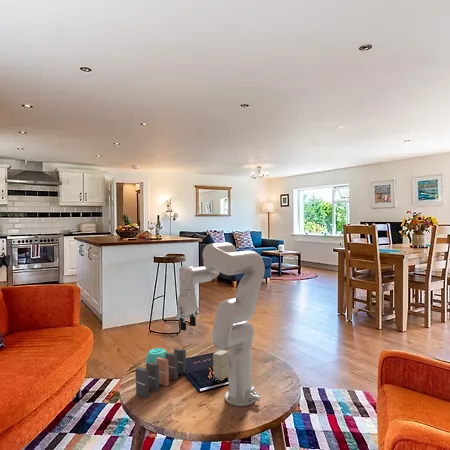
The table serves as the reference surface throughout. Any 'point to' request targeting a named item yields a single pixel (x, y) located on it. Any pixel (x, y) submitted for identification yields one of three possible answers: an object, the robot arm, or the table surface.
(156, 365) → the domino
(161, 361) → the domino
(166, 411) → the table surface
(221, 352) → the skincare box
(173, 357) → the domino
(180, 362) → the domino
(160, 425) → the table surface
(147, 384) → the domino
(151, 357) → the decorative dice
